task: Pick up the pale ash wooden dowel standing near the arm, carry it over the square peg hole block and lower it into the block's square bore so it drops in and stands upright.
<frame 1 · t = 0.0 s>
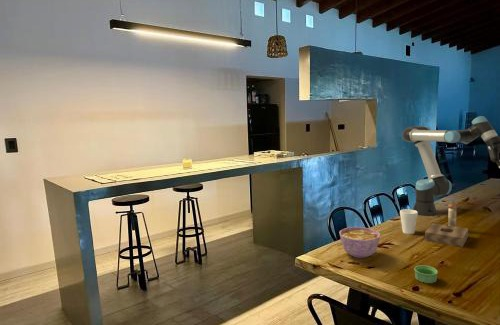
foam cup: (408, 232, 199), on the table
dowel: (451, 230, 198), on the table
square peg hole block: (446, 238, 186), on the table
ramekin: (425, 279, 143), on the table
bowl of food: (359, 255, 171), on the table
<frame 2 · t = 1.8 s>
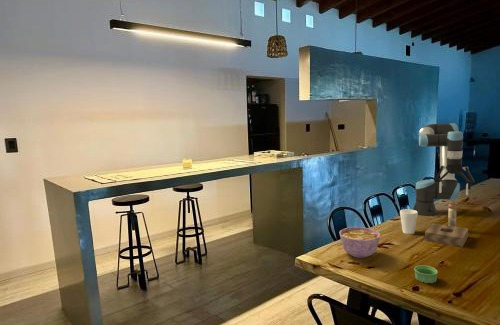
hand: (453, 193, 195), 23 cm above the table, tool pointing down, fingers open, 13 cm apart
nothing on the table moved.
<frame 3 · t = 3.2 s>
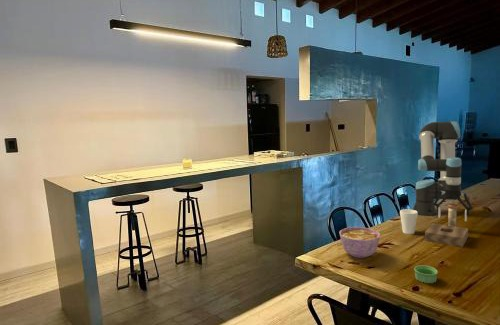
hand: (452, 218, 197), 7 cm above the table, tool pointing down, fingers open, 13 cm apart
nothing on the table moved.
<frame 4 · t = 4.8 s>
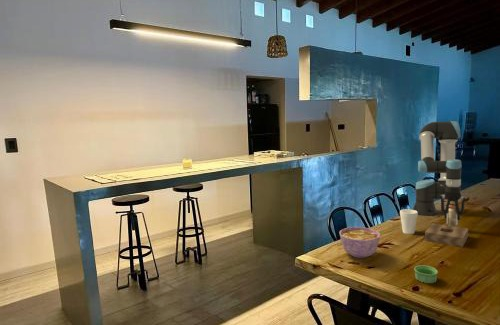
hand: (452, 224, 197), 4 cm above the table, tool pointing down, fingers closed on dowel, 4 cm apart
dowel: (451, 230, 198), on the table, touching gripper
everything else where it was.
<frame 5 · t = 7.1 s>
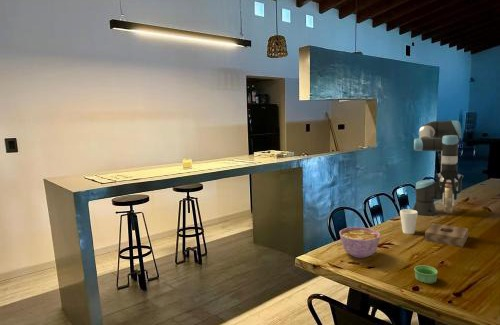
hand: (448, 204, 185), 19 cm above the table, tool pointing down, fingers closed on dowel, 4 cm apart
dowel: (448, 211, 185), point 15 cm above the table, touching gripper
everything else where it was.
when the fingers open (7 cm above the table, at t = 9.4 s): dowel drops 3 cm, resting in square peg hole block.
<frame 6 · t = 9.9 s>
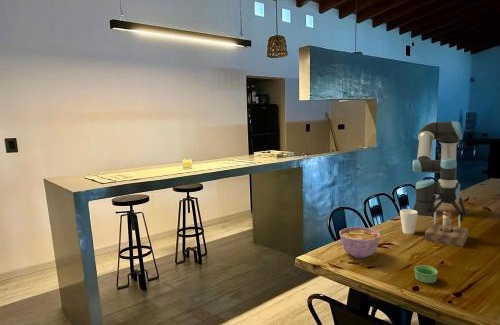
hand: (446, 224, 185), 8 cm above the table, tool pointing down, fingers open, 11 cm apart
dowel: (446, 238, 186), resting in square peg hole block
everything else where it was.
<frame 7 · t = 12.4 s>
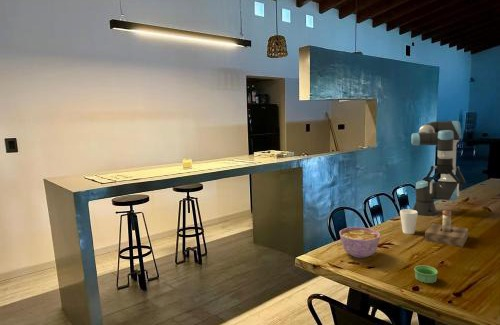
hand: (444, 194, 189), 24 cm above the table, tool pointing down, fingers open, 13 cm apart
nothing on the table moved.
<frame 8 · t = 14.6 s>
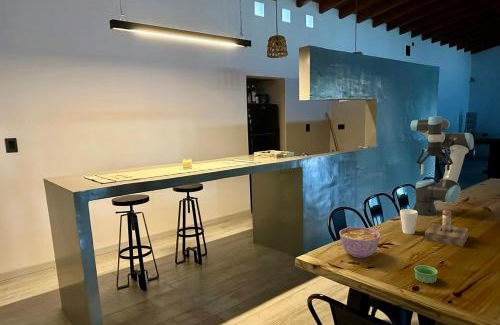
hand: (434, 174, 208), 32 cm above the table, tool pointing down, fingers open, 13 cm apart
nothing on the table moved.
at the end: dowel 0.1 cm from the square peg hole block (horizontally); dowel resting in square peg hole block; dowel tilted 0° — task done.
